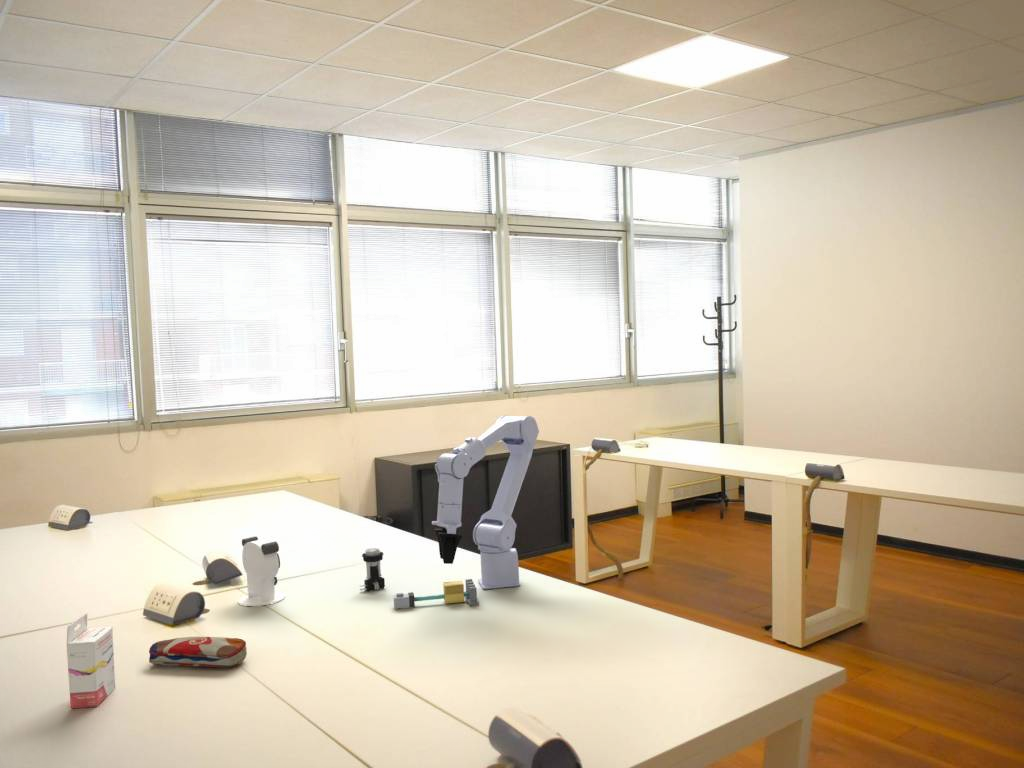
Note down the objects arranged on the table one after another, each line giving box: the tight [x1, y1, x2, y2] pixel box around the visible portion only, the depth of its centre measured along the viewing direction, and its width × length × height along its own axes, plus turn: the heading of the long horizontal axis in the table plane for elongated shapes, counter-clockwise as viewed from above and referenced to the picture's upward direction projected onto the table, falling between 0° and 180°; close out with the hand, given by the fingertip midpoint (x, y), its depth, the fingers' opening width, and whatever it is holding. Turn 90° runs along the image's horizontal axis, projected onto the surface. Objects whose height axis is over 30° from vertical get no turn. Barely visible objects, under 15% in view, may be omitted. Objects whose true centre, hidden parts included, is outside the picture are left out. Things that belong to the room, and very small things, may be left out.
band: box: [407, 591, 416, 608], centre depth 199 cm, size 1×3×3 cm, turn 10°
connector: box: [393, 592, 410, 610], centre depth 199 cm, size 4×3×3 cm
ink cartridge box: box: [66, 613, 116, 709], centre depth 152 cm, size 9×5×15 cm, turn 5°
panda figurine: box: [237, 535, 286, 607], centre depth 209 cm, size 12×11×15 cm
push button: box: [359, 547, 386, 592], centre depth 214 cm, size 7×5×10 cm
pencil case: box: [148, 636, 248, 668], centre depth 168 cm, size 11×20×5 cm, turn 65°
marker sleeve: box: [442, 580, 465, 605], centre depth 201 cm, size 4×3×4 cm
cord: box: [414, 591, 468, 602], centre depth 200 cm, size 16×1×1 cm, turn 101°
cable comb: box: [464, 578, 480, 607], centre depth 202 cm, size 2×9×4 cm, turn 11°
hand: (446, 561), depth 201 cm, fingers open, 7 cm apart
